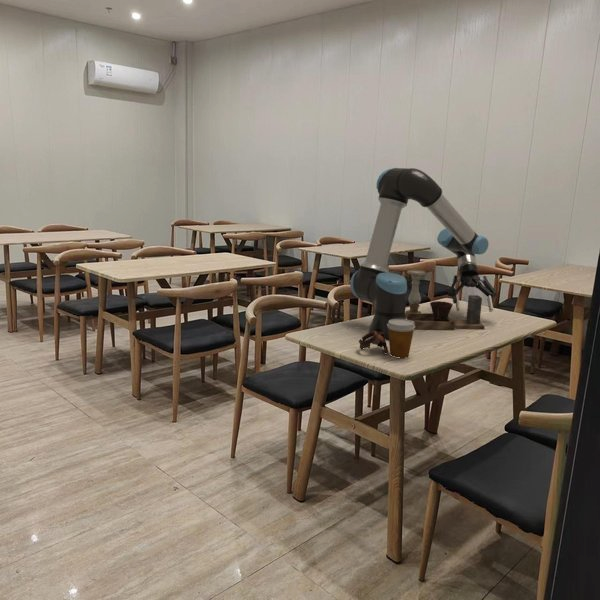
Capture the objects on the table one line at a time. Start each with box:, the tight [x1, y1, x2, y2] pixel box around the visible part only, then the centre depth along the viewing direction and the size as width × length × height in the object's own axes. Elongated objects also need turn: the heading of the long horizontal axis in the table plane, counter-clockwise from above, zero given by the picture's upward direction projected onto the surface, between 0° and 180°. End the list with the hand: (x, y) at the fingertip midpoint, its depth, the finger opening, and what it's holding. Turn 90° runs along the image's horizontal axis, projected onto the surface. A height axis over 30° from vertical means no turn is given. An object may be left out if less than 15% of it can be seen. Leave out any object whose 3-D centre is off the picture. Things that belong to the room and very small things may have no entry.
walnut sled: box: [406, 294, 485, 331], centre depth 224 cm, size 29×14×12 cm, turn 89°
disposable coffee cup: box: [387, 318, 415, 359], centre depth 185 cm, size 10×10×12 cm
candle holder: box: [405, 269, 426, 319], centre depth 236 cm, size 9×9×20 cm
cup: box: [429, 300, 454, 322], centre depth 224 cm, size 9×9×10 cm
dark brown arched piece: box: [358, 331, 389, 354], centre depth 191 cm, size 12×10×8 cm
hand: (474, 310), depth 224 cm, fingers open, 13 cm apart
